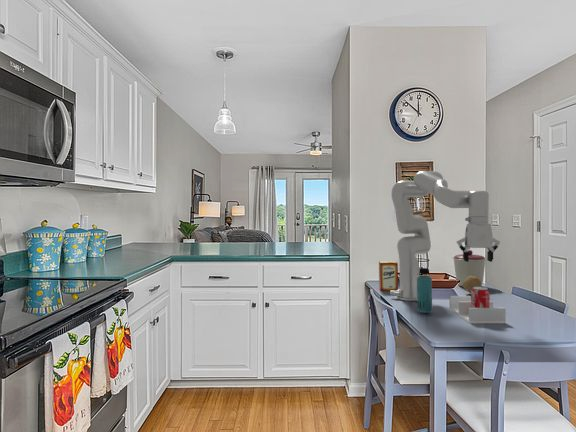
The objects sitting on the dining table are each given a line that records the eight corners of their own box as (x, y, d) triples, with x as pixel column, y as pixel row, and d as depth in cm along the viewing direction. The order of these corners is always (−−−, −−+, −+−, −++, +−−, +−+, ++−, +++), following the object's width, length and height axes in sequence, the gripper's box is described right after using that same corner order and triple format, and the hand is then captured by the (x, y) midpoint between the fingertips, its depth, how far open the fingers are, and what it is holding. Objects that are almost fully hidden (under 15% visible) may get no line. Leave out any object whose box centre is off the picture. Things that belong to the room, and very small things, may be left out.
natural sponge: (459, 294, 219) (459, 275, 218) (467, 291, 225) (467, 273, 224) (477, 297, 212) (477, 277, 212) (484, 294, 218) (484, 275, 218)
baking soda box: (380, 290, 231) (380, 262, 231) (379, 288, 238) (378, 260, 237) (397, 290, 230) (397, 262, 230) (396, 288, 237) (395, 260, 236)
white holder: (469, 323, 165) (469, 308, 165) (449, 309, 188) (449, 296, 188) (505, 323, 165) (505, 308, 164) (480, 309, 188) (480, 295, 187)
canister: (484, 290, 228) (484, 252, 227) (449, 287, 238) (449, 250, 237) (488, 285, 243) (488, 249, 242) (456, 282, 253) (455, 247, 252)
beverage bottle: (432, 312, 183) (432, 267, 182) (432, 316, 176) (432, 269, 176) (417, 311, 185) (416, 266, 184) (416, 315, 179) (416, 269, 178)
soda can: (467, 314, 174) (467, 286, 174) (483, 314, 175) (483, 285, 175) (476, 319, 167) (476, 289, 167) (493, 318, 168) (493, 289, 168)
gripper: (460, 221, 169) (460, 262, 170) (503, 220, 168) (503, 262, 169) (454, 220, 176) (453, 260, 177) (495, 219, 176) (495, 260, 176)
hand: (478, 261), depth 173 cm, fingers open, 9 cm apart
